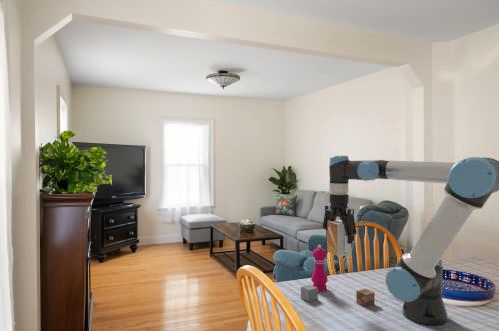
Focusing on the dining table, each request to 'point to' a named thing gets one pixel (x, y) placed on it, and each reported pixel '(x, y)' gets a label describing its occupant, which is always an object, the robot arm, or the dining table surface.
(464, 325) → the dining table surface
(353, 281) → the dining table surface
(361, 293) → the walnut block
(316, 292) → the charcoal block
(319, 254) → the pepper mill
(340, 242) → the small box
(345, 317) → the dining table surface
